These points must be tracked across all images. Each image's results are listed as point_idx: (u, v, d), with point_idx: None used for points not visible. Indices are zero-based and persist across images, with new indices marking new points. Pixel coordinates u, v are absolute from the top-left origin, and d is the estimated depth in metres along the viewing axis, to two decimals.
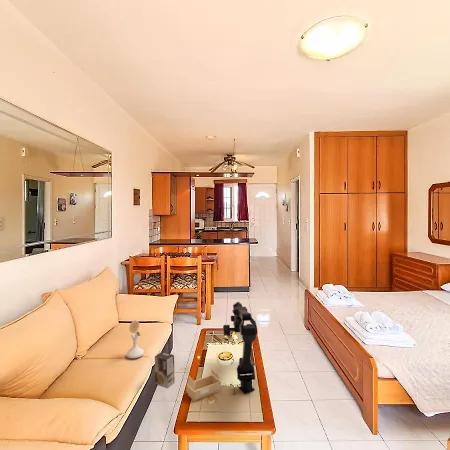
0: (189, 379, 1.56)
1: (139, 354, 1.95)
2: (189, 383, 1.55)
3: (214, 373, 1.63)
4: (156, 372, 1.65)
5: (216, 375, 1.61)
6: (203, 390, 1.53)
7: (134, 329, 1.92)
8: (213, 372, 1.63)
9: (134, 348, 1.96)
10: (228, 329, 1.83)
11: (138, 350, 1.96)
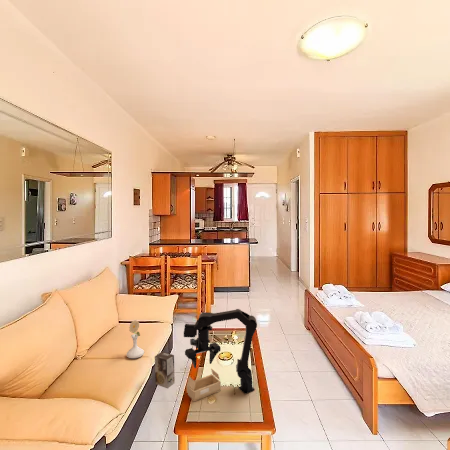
0: (189, 379, 1.56)
1: (139, 354, 1.95)
2: (189, 383, 1.55)
3: (214, 373, 1.63)
4: (156, 372, 1.65)
5: (216, 375, 1.61)
6: (203, 390, 1.53)
7: (134, 329, 1.92)
8: (213, 372, 1.63)
9: (134, 348, 1.96)
10: (192, 351, 1.56)
11: (138, 350, 1.96)
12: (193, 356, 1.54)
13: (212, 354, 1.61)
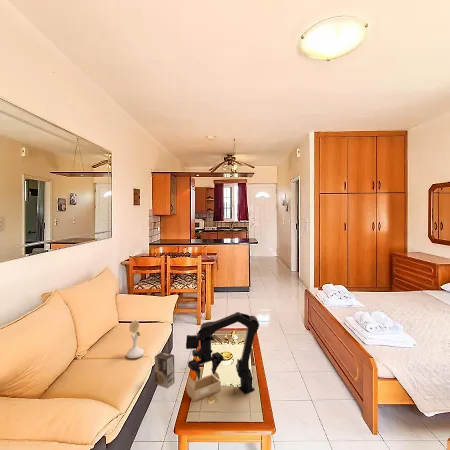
0: (189, 379, 1.56)
1: (139, 354, 1.95)
2: (189, 383, 1.55)
3: (214, 373, 1.63)
4: (156, 372, 1.65)
5: (216, 375, 1.61)
6: (203, 390, 1.53)
7: (134, 329, 1.92)
8: None
9: (134, 348, 1.96)
10: (196, 362, 1.54)
11: (138, 350, 1.96)
12: (197, 368, 1.52)
13: (215, 364, 1.60)
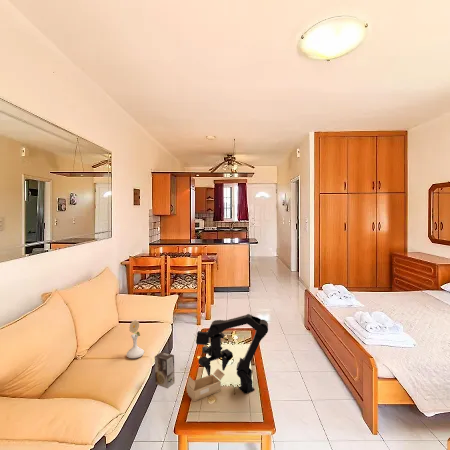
0: (189, 379, 1.56)
1: (139, 354, 1.95)
2: (189, 383, 1.55)
3: (218, 373, 1.64)
4: (156, 372, 1.65)
5: (219, 375, 1.62)
6: (203, 390, 1.53)
7: (134, 329, 1.92)
8: (217, 372, 1.65)
9: (134, 348, 1.96)
10: (206, 359, 1.57)
11: (138, 350, 1.96)
12: (207, 364, 1.55)
13: (225, 361, 1.64)
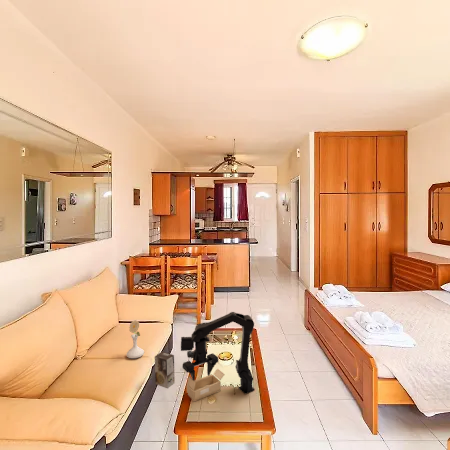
0: (189, 379, 1.56)
1: (139, 354, 1.95)
2: (189, 383, 1.55)
3: (218, 373, 1.64)
4: (156, 372, 1.65)
5: (219, 375, 1.62)
6: (203, 390, 1.53)
7: (134, 329, 1.92)
8: (217, 372, 1.65)
9: (134, 348, 1.96)
10: (190, 363, 1.52)
11: (138, 350, 1.96)
12: (191, 369, 1.50)
13: (210, 366, 1.58)
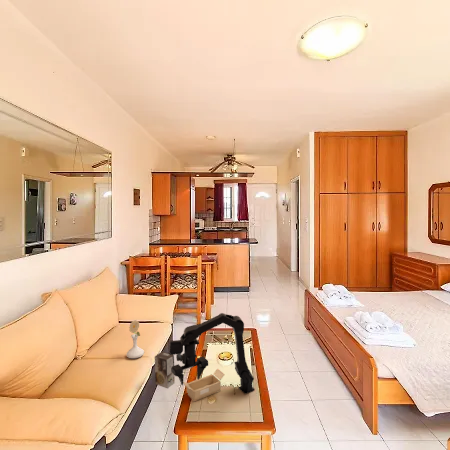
0: None
1: (139, 354, 1.95)
2: None
3: (218, 373, 1.64)
4: (156, 372, 1.65)
5: (219, 375, 1.62)
6: (203, 390, 1.53)
7: (134, 329, 1.92)
8: (217, 372, 1.65)
9: (134, 348, 1.96)
10: (179, 367, 1.49)
11: (138, 350, 1.96)
12: (180, 373, 1.47)
13: (200, 369, 1.55)
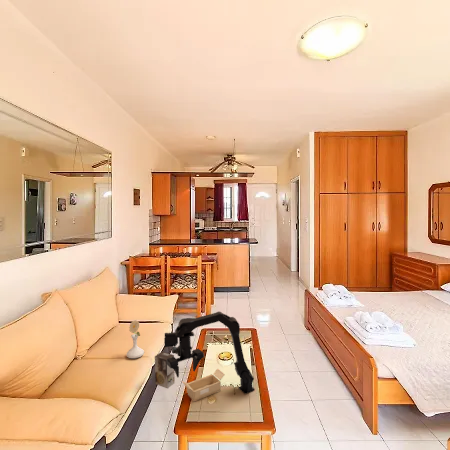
0: None
1: (139, 354, 1.95)
2: None
3: (218, 373, 1.64)
4: (156, 372, 1.65)
5: (219, 375, 1.62)
6: (203, 390, 1.53)
7: (134, 329, 1.92)
8: (217, 372, 1.65)
9: (134, 348, 1.96)
10: (174, 359, 1.48)
11: (138, 350, 1.96)
12: (175, 365, 1.46)
13: (195, 361, 1.54)
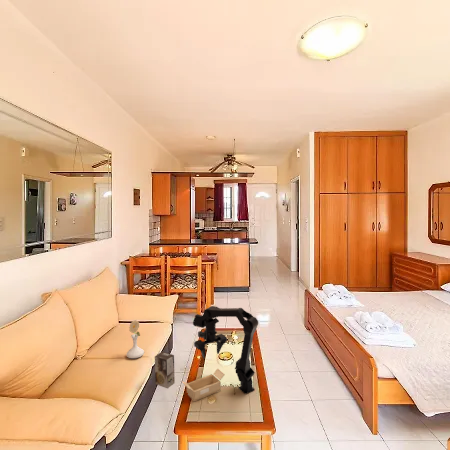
0: None
1: (139, 354, 1.95)
2: None
3: (218, 373, 1.64)
4: (156, 372, 1.65)
5: (219, 375, 1.62)
6: (203, 390, 1.53)
7: (134, 329, 1.92)
8: (217, 372, 1.65)
9: (134, 348, 1.96)
10: (201, 342, 1.66)
11: (138, 350, 1.96)
12: (202, 347, 1.64)
13: (219, 344, 1.72)
